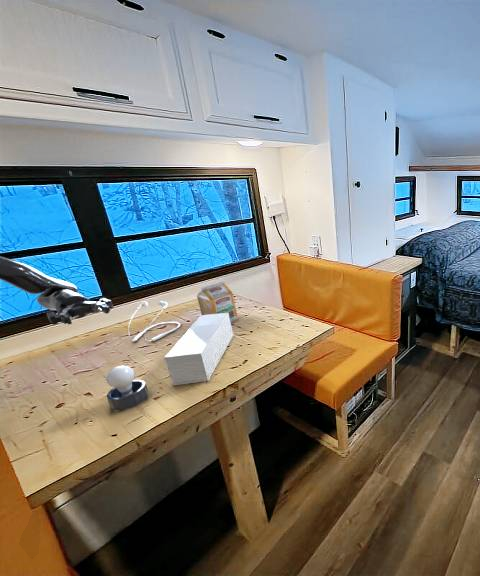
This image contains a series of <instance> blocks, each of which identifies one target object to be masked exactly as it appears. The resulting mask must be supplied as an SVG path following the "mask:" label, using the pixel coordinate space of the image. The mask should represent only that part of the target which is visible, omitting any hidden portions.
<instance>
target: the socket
mask: <svg viewBox="0 0 480 576" xmlns="http://www.w3.org/2000/svg"><path fill="white" fill-rule="evenodd" d="M132 391H133V393H132V394H130V395H128V396H125V397H122V395H121V392H119V391H118V390H117V389H116V388H114V387H112V389H110V390H109V391H108V392H107V394H106V399H107V401H108V404H109V406H110V408H111V410H113V411H116V412H117V411H118V412H119V411H126V410H129V409H132V408H134V407H137V406H138V405H140V404H142V403H143V402H144V401H145V400H147V399H148V397H150V396H149V395H150V392H149V388H148V386H147V383H146V381H145V380H143V379H134V380H133V382H132Z"/></svg>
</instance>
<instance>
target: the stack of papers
mask: <svg viewBox="0 0 480 576" xmlns="http://www.w3.org/2000/svg"><path fill="white" fill-rule="evenodd" d="M233 337H234V331H233V328H232V323H231V322H230V318H229V313H220V314H209V315H202V314H200V316H199V317H198V318H197V319H196V320H195V321H194V322H193V324H191V326H190V327H189V328H188V329H187V330H186V332H185V333H184V334H183V335H182V336H181V337H180V338H179V340H178V341H177V342H176V343H175V344H174V345H173V346H172V348H171V349H170V350H169V352H168V353H167V354H165V356H164V361H165V364H166V367H167V371H168V375H169V378H170V381H171V384H172V386H181V385H187V384H188V385H189V384H195V383H203V382H209V381H210V379H211V378H212V375H213V373H214V371H215V369H216V368H217V366H218V365H219V362H220V360H221V359H222V357H223V355H224V353H225V351H226V350H227V348H228V346H229V344H230V342H231V340H232V338H233Z"/></svg>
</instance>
